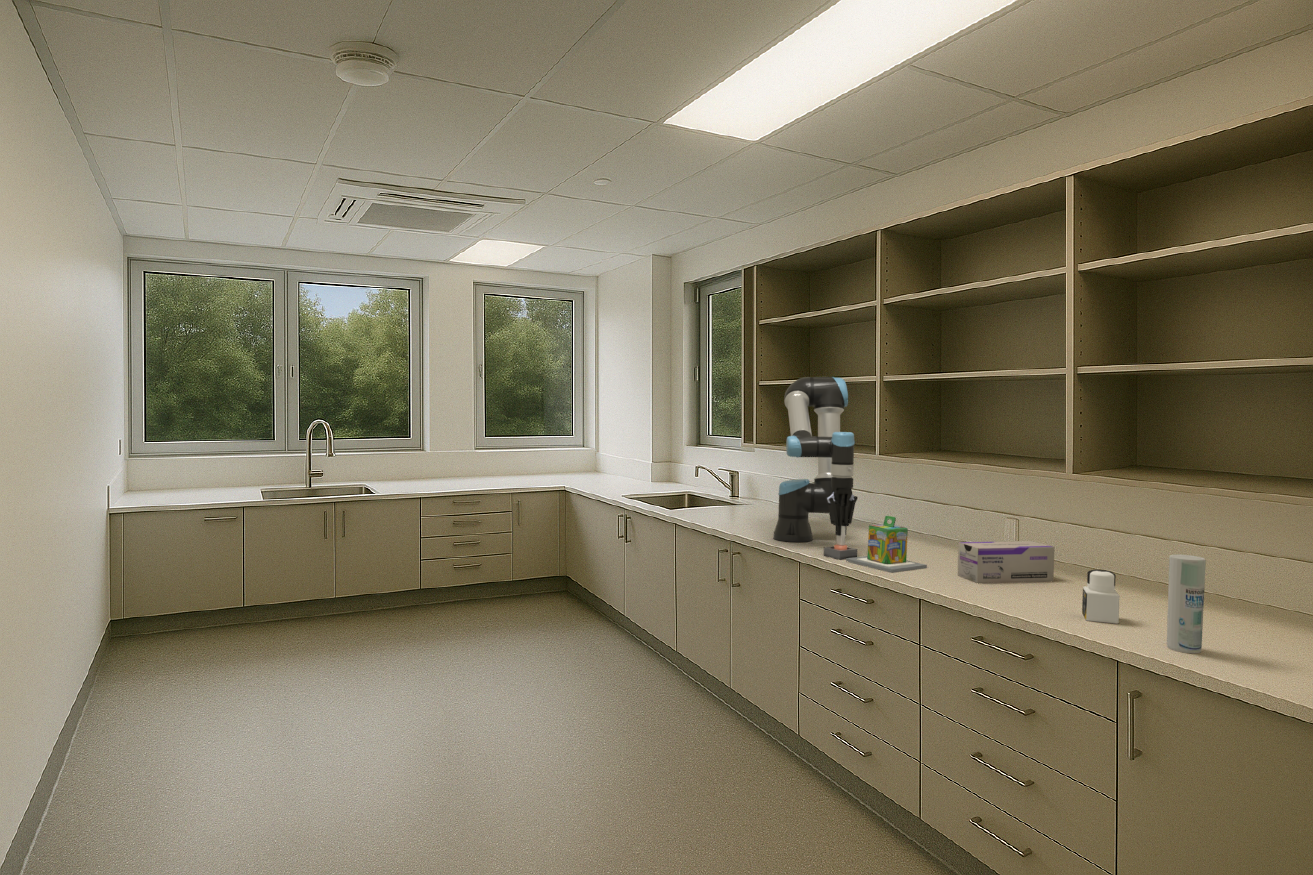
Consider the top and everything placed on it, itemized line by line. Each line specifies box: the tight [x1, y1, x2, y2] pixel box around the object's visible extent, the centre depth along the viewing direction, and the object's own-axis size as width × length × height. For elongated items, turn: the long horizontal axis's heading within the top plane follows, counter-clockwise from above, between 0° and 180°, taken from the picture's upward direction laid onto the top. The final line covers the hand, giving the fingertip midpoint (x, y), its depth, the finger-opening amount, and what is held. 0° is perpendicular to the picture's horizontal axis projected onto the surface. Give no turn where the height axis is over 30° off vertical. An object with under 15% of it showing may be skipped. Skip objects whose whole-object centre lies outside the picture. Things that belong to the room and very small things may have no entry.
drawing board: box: [845, 555, 928, 573], centre depth 257 cm, size 20×16×1 cm
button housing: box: [823, 545, 858, 561], centre depth 270 cm, size 8×8×3 cm
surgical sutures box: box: [957, 540, 1055, 585], centre depth 238 cm, size 25×11×11 cm, turn 100°
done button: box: [833, 543, 848, 550], centre depth 270 cm, size 4×4×3 cm
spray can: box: [1166, 554, 1207, 654], centre depth 168 cm, size 6×6×20 cm
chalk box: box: [866, 515, 909, 564], centre depth 257 cm, size 9×9×15 cm
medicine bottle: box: [1081, 568, 1121, 625], centre depth 193 cm, size 7×7×12 cm
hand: (840, 544), depth 270 cm, fingers closed
